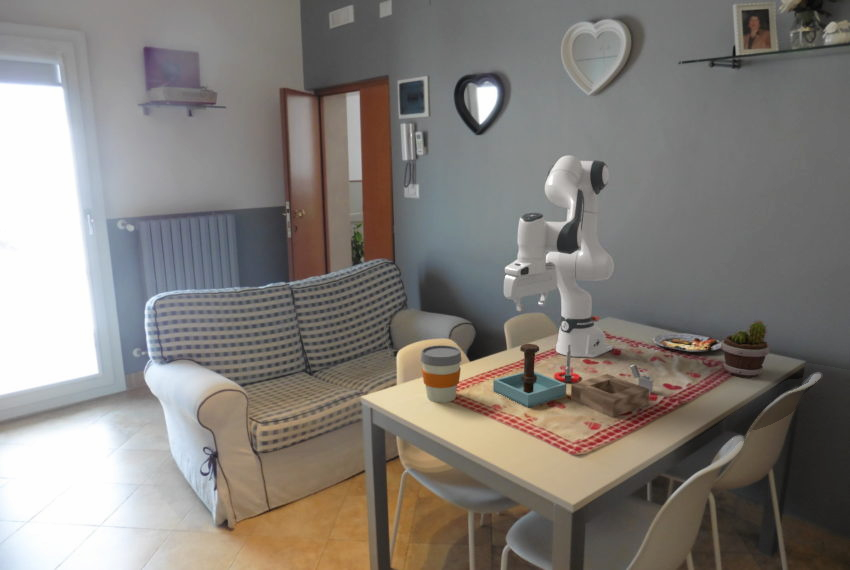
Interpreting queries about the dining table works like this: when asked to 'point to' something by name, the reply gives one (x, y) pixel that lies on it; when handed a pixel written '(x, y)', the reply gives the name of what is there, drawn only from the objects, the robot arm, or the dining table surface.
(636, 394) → the socket block
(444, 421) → the dining table surface
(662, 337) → the food plate
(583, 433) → the dining table surface
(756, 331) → the flowerpot
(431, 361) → the reusable coffee cup
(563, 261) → the robot arm
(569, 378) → the red valve handwheel
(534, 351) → the bolt
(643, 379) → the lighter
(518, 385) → the tray
